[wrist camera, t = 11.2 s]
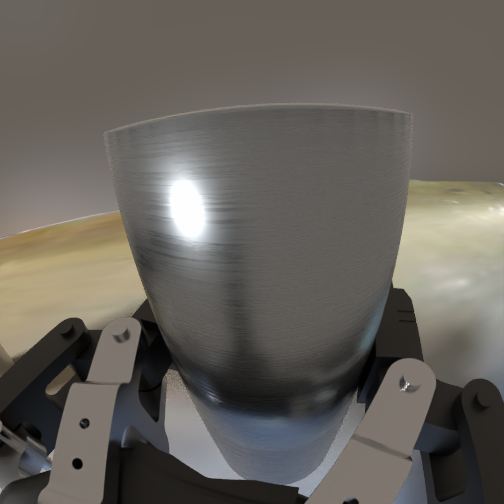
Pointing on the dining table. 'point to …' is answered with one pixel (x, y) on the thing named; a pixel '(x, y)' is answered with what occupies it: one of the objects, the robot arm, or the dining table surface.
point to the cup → (267, 262)
